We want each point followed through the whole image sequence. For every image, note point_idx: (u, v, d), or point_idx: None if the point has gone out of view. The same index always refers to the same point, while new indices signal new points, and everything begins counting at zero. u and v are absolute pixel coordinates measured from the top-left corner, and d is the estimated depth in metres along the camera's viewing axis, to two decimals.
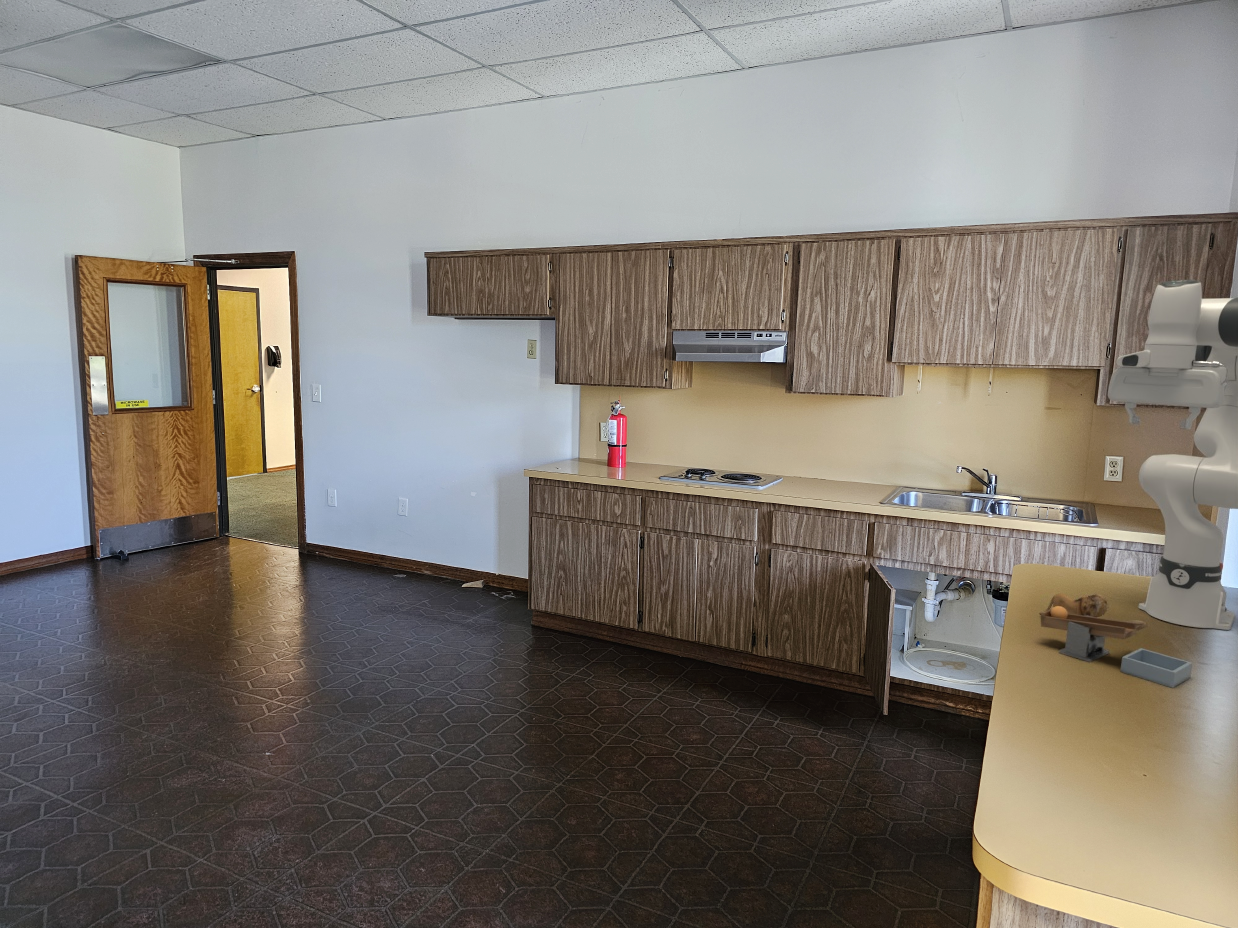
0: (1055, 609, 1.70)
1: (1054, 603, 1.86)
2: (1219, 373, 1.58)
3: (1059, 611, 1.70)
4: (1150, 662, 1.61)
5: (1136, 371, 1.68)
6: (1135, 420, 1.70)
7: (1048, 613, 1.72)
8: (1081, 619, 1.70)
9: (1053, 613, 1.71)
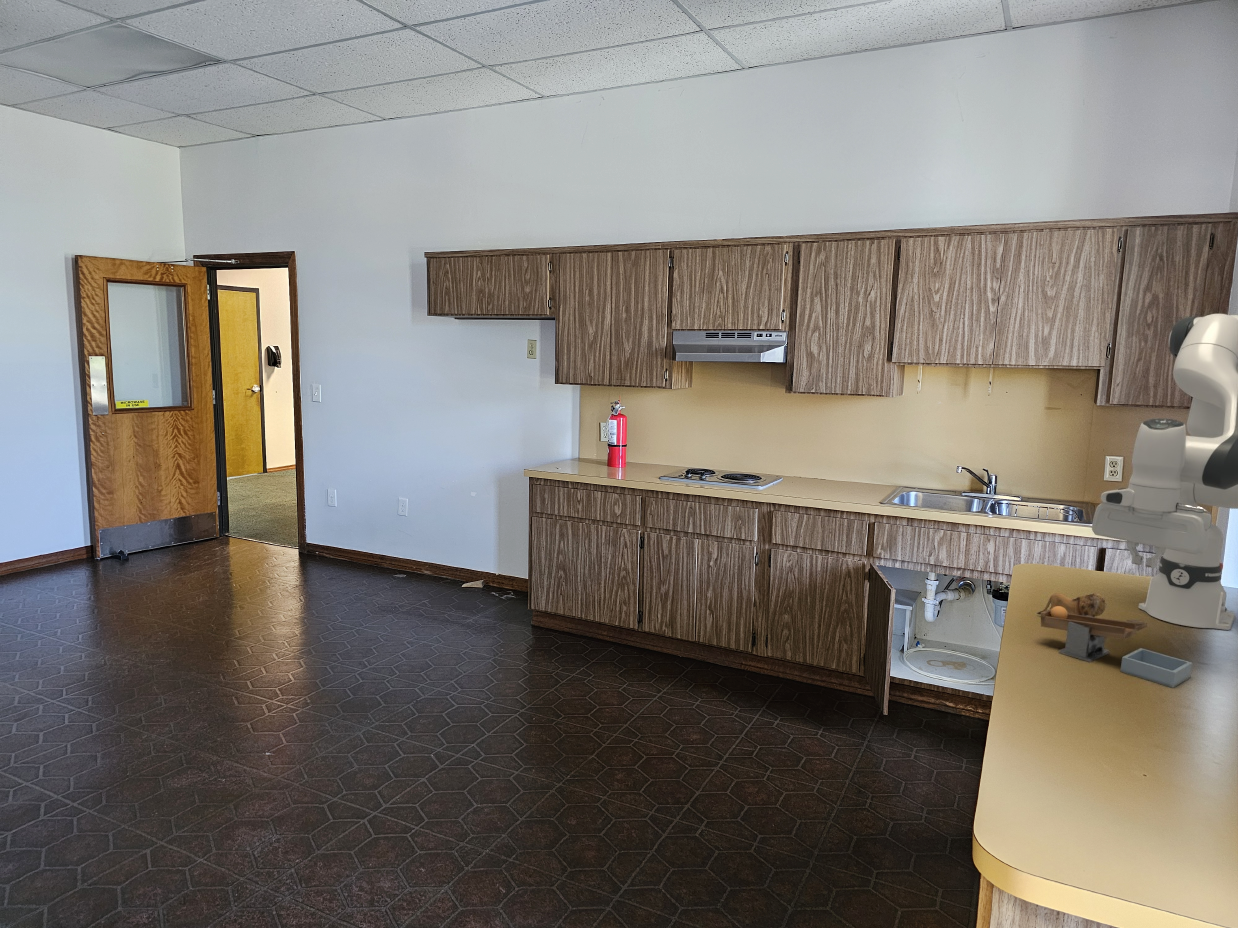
0: (1055, 609, 1.70)
1: (1052, 602, 1.87)
2: (1203, 519, 1.56)
3: (1059, 611, 1.70)
4: (1150, 662, 1.61)
5: (1120, 509, 1.65)
6: (1138, 560, 1.65)
7: (1048, 613, 1.72)
8: (1081, 619, 1.70)
9: (1053, 613, 1.71)
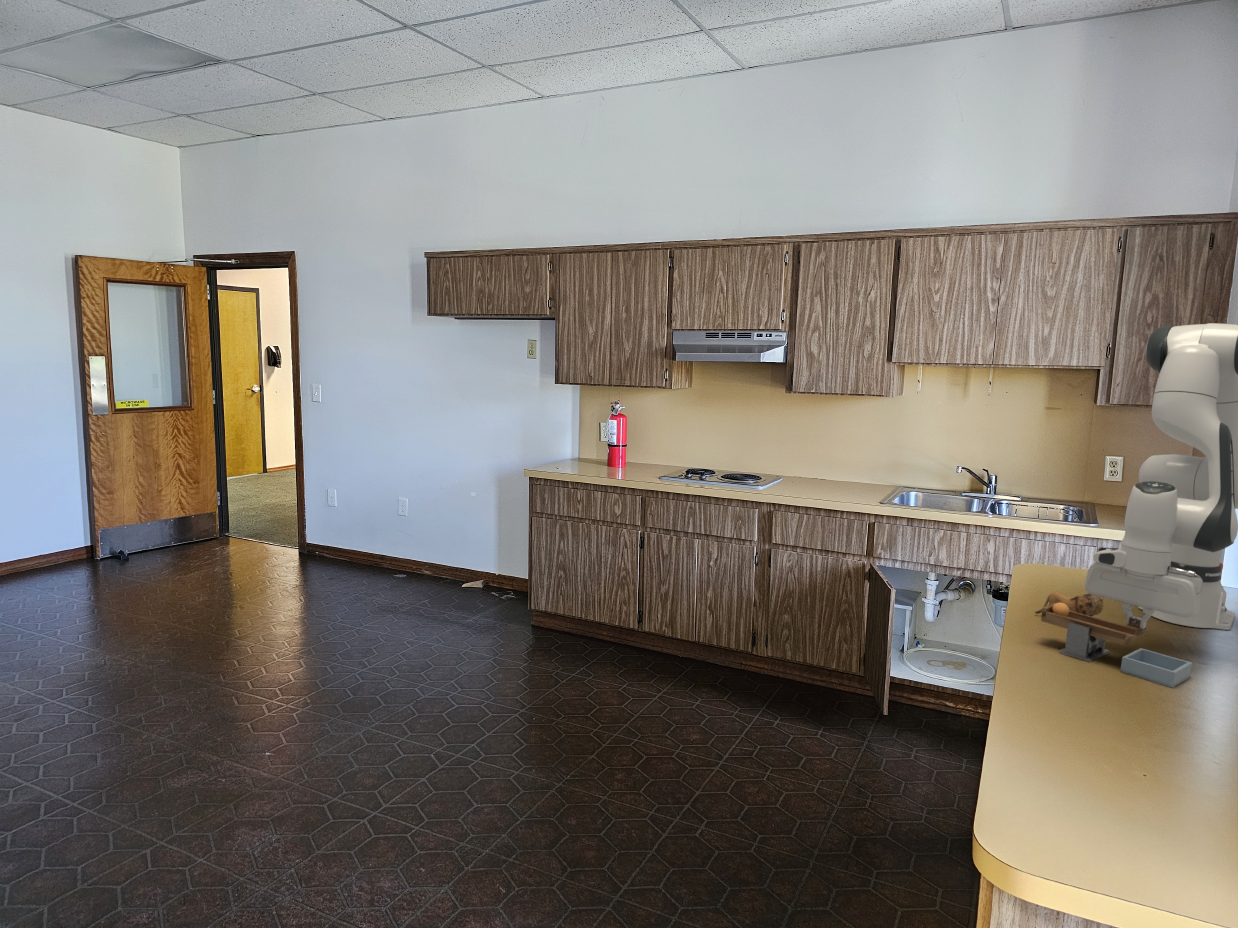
0: (1058, 606, 1.70)
1: (1050, 602, 1.87)
2: (1194, 583, 1.58)
3: (1061, 608, 1.69)
4: (1150, 662, 1.61)
5: (1112, 570, 1.67)
6: (1132, 621, 1.66)
7: (1050, 608, 1.71)
8: (1082, 618, 1.70)
9: (1055, 609, 1.70)
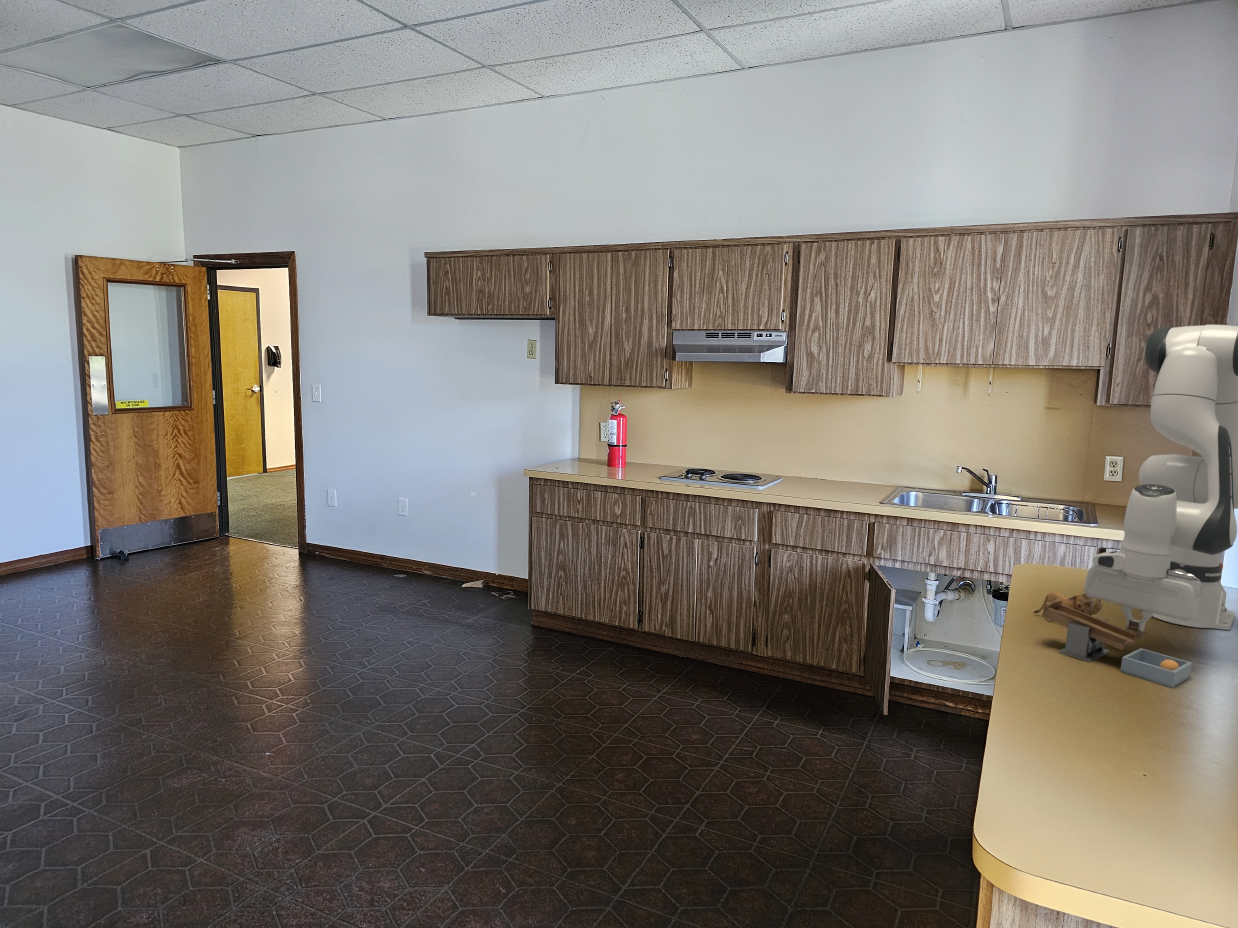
0: (1171, 666, 1.54)
1: (1048, 601, 1.88)
2: (1194, 586, 1.58)
3: None
4: (1150, 662, 1.61)
5: (1111, 572, 1.67)
6: (1132, 624, 1.66)
7: (1052, 605, 1.71)
8: (1083, 617, 1.69)
9: (1166, 666, 1.54)
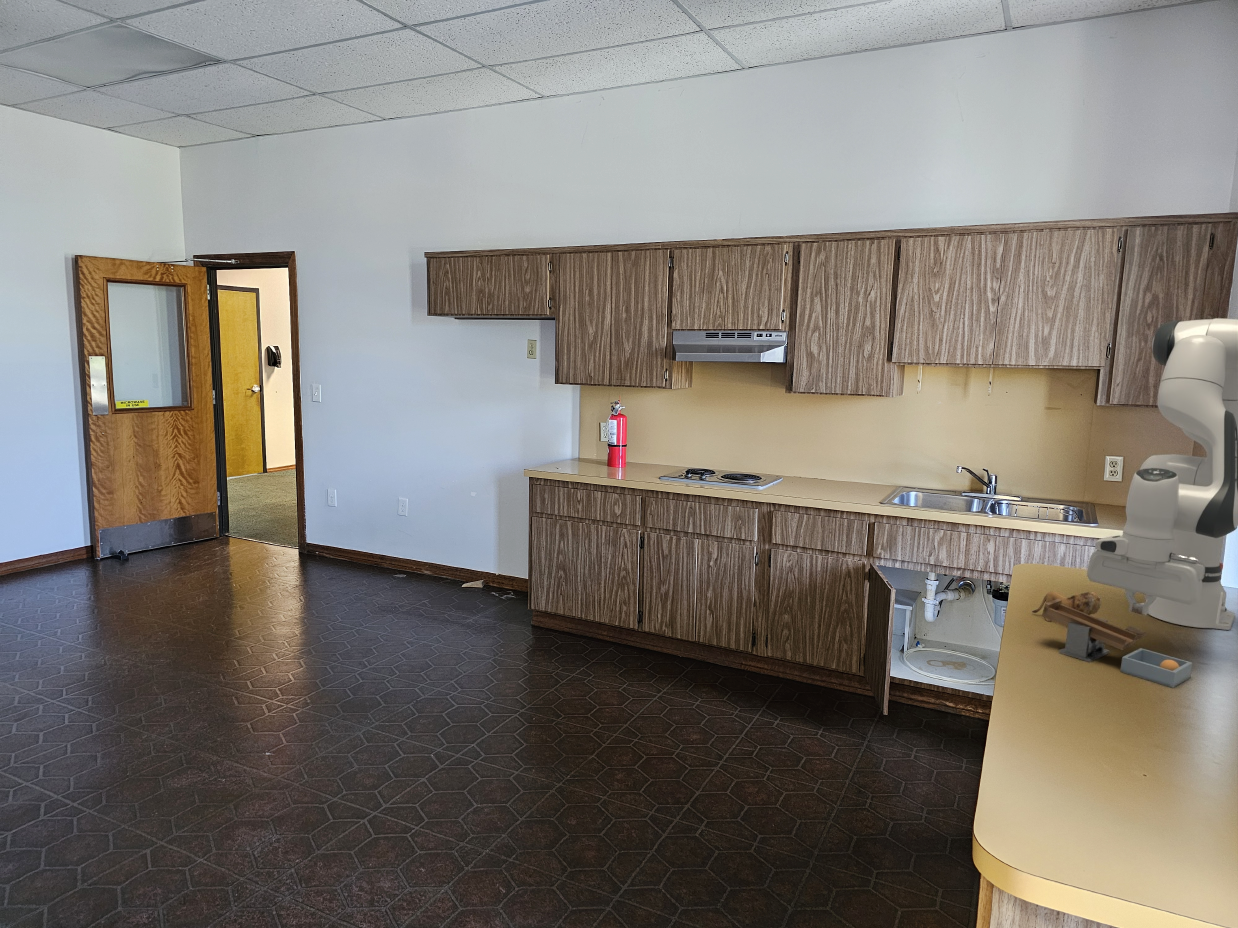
0: (1172, 667, 1.54)
1: (1047, 601, 1.88)
2: (1197, 570, 1.57)
3: None
4: (1150, 662, 1.61)
5: (1114, 557, 1.67)
6: (1135, 608, 1.66)
7: (1052, 605, 1.71)
8: (1083, 617, 1.69)
9: (1166, 666, 1.54)
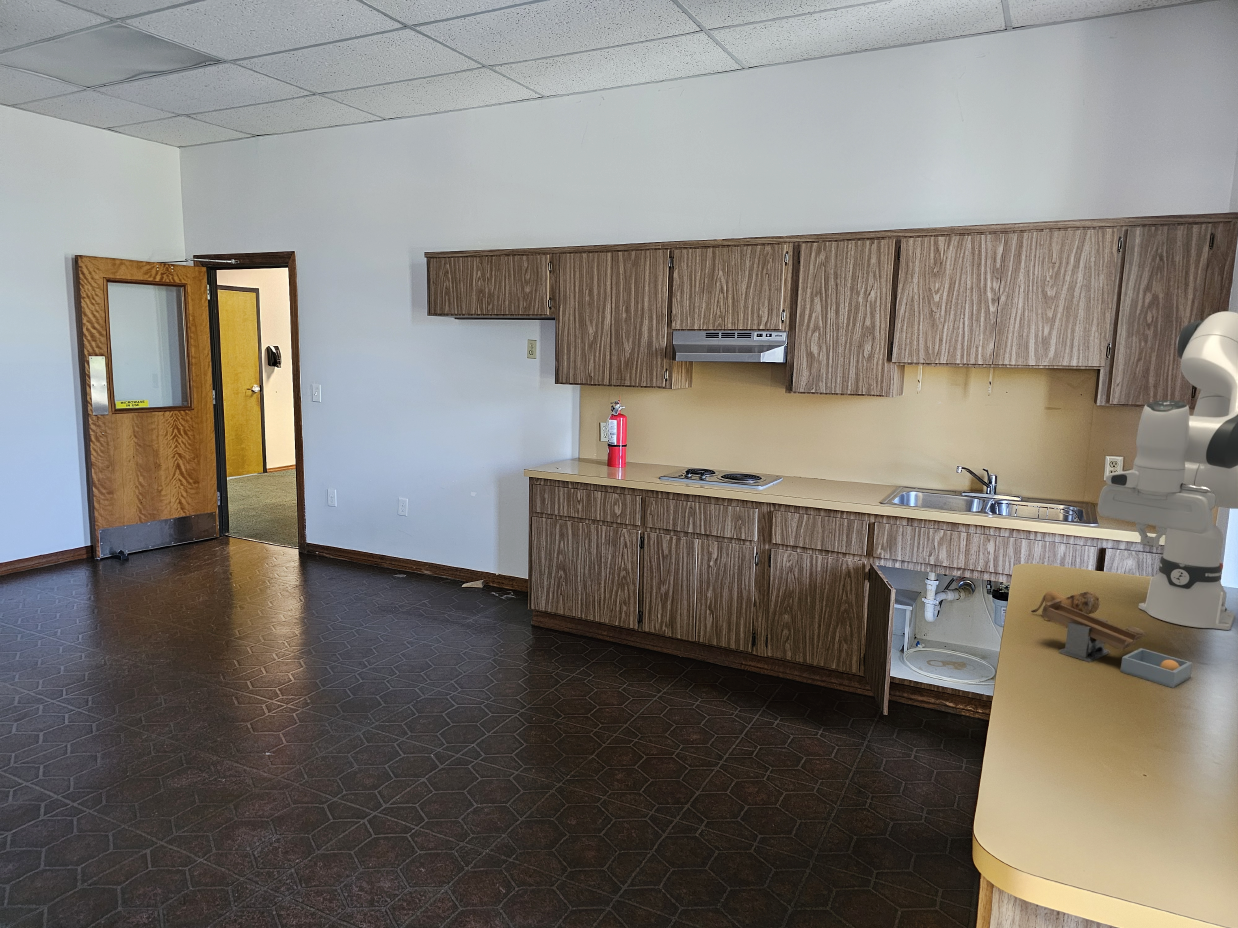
0: (1172, 667, 1.54)
1: (1046, 601, 1.88)
2: (1208, 499, 1.58)
3: None
4: (1150, 662, 1.61)
5: (1125, 490, 1.67)
6: (1146, 541, 1.67)
7: (1052, 605, 1.71)
8: (1083, 617, 1.69)
9: (1166, 667, 1.54)
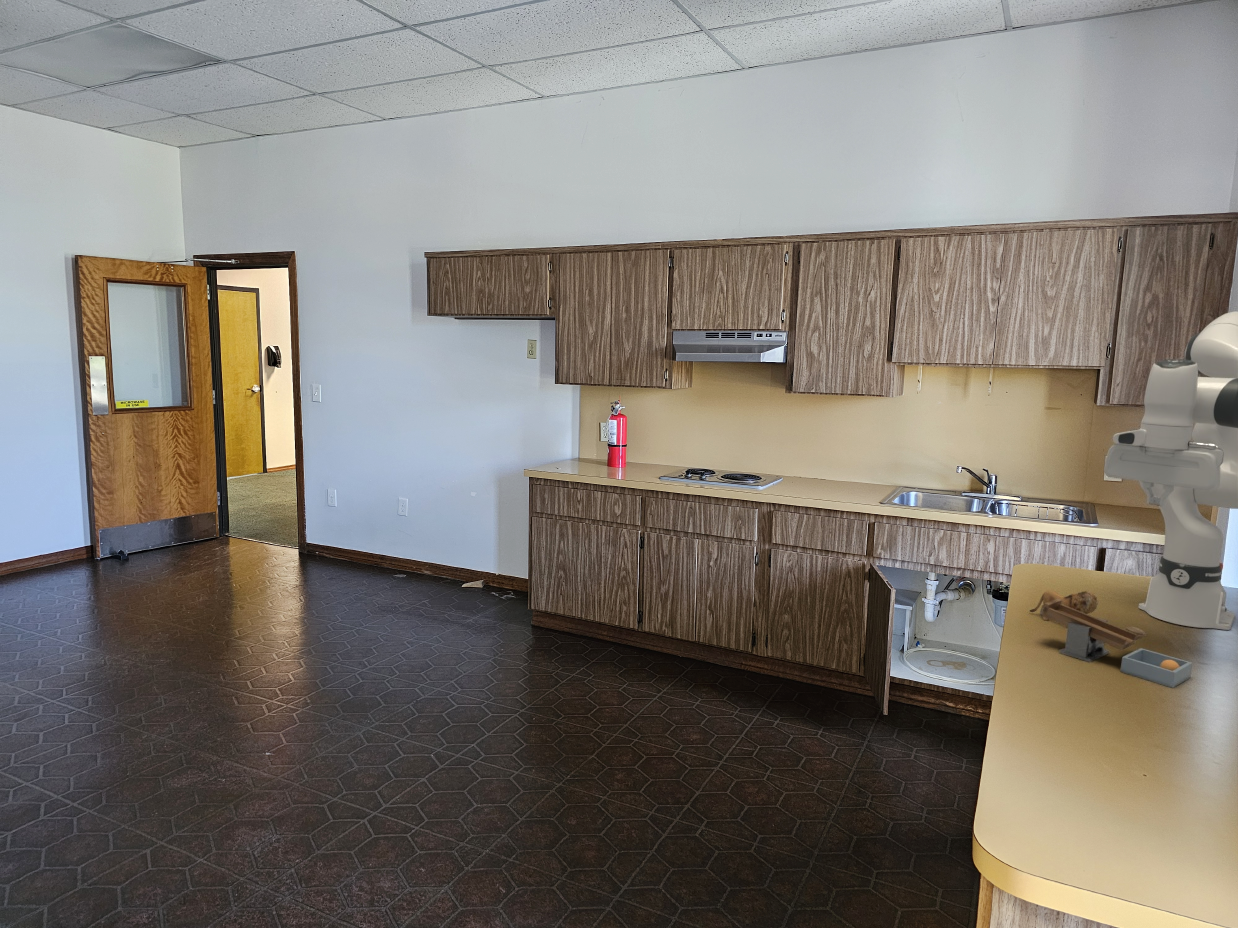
0: (1172, 667, 1.54)
1: (1044, 600, 1.88)
2: (1215, 456, 1.58)
3: None
4: (1150, 662, 1.61)
5: (1132, 449, 1.67)
6: (1153, 500, 1.67)
7: (1052, 605, 1.71)
8: (1083, 617, 1.69)
9: (1166, 666, 1.54)
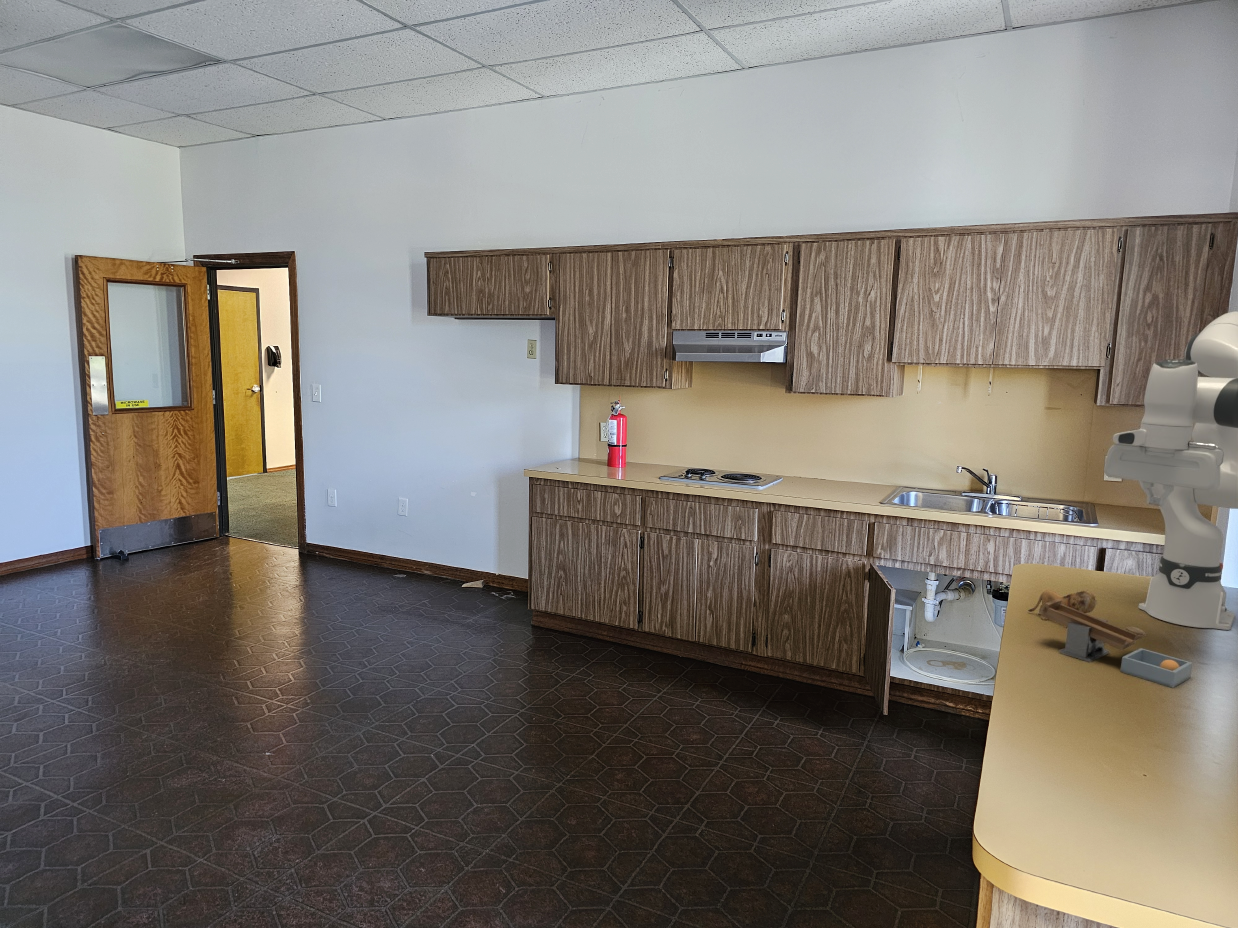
0: (1172, 667, 1.54)
1: (1043, 600, 1.89)
2: (1215, 456, 1.58)
3: None
4: (1150, 662, 1.61)
5: (1132, 449, 1.67)
6: (1153, 500, 1.67)
7: (1052, 605, 1.71)
8: (1083, 617, 1.69)
9: (1166, 666, 1.54)
